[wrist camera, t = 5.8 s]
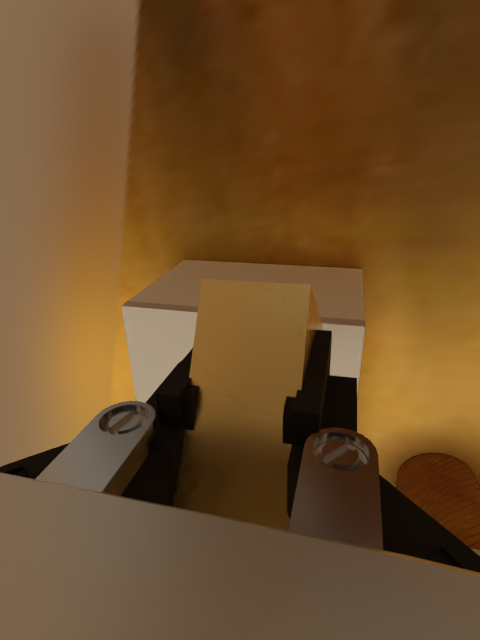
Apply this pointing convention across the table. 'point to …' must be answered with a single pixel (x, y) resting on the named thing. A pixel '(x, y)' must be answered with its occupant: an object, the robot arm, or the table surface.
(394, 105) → the table surface
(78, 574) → the robot arm
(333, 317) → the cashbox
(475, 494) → the disposable coffee cup
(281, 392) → the wooden block
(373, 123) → the table surface
